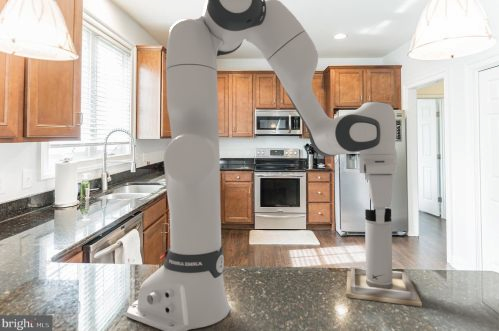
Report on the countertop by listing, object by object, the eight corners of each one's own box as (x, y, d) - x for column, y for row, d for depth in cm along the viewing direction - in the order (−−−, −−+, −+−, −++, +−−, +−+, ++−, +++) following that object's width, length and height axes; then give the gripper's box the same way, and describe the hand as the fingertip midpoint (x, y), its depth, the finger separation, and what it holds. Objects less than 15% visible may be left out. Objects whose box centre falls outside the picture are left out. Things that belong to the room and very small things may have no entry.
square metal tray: (346, 297, 71) (346, 287, 71) (347, 273, 86) (347, 265, 86) (421, 306, 66) (421, 296, 66) (409, 279, 81) (408, 271, 81)
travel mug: (377, 291, 72) (376, 209, 72) (361, 281, 78) (359, 206, 78) (399, 288, 73) (398, 208, 74) (381, 279, 80) (380, 204, 80)
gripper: (363, 165, 87) (364, 212, 87) (366, 167, 68) (367, 227, 68) (387, 165, 85) (387, 213, 85) (396, 166, 65) (397, 229, 65)
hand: (378, 219), depth 76 cm, fingers closed on travel mug, 6 cm apart
